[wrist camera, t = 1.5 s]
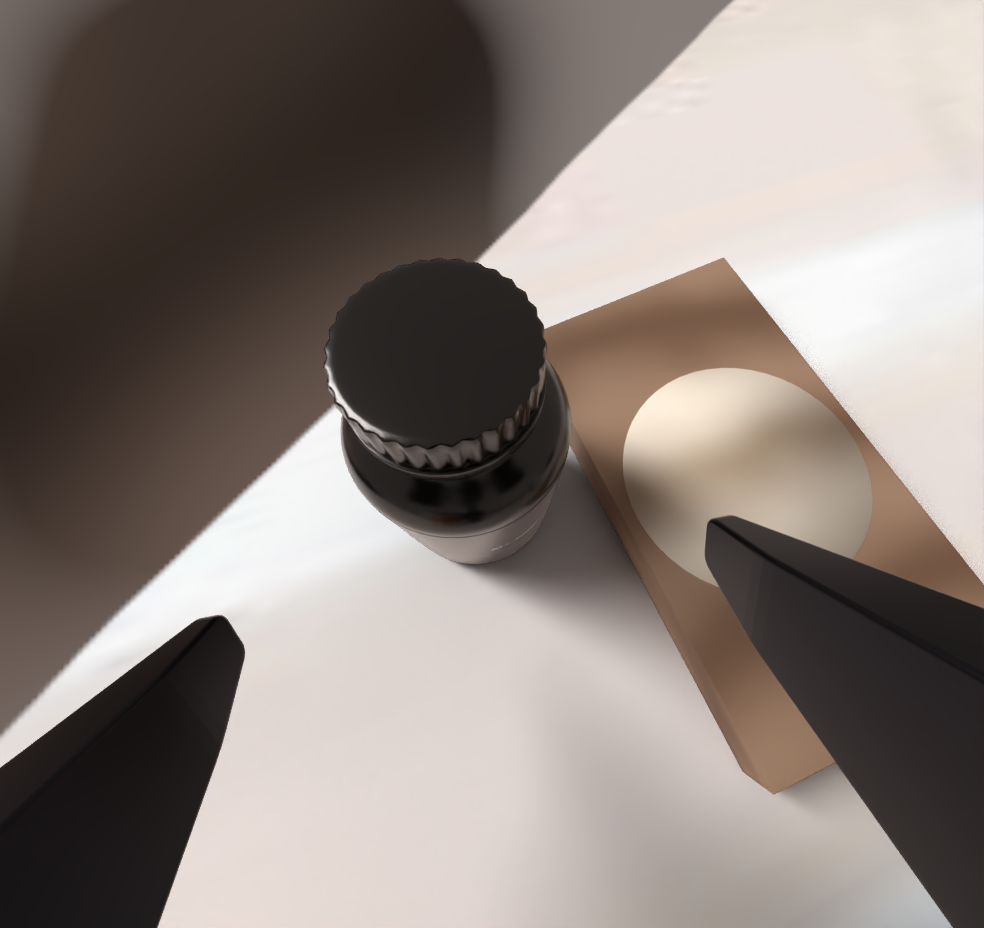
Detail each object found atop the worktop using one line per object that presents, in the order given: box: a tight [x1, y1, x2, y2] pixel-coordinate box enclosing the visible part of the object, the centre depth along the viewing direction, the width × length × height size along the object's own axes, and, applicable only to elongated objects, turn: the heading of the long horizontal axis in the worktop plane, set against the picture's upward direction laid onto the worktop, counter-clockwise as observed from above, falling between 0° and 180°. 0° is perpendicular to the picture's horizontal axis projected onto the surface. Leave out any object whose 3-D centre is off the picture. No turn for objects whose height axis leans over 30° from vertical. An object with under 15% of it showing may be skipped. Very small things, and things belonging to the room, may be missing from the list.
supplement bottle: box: [323, 258, 571, 564], centre depth 14 cm, size 7×7×12 cm
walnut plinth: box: [544, 258, 984, 794], centre depth 19 cm, size 20×11×2 cm, turn 23°
